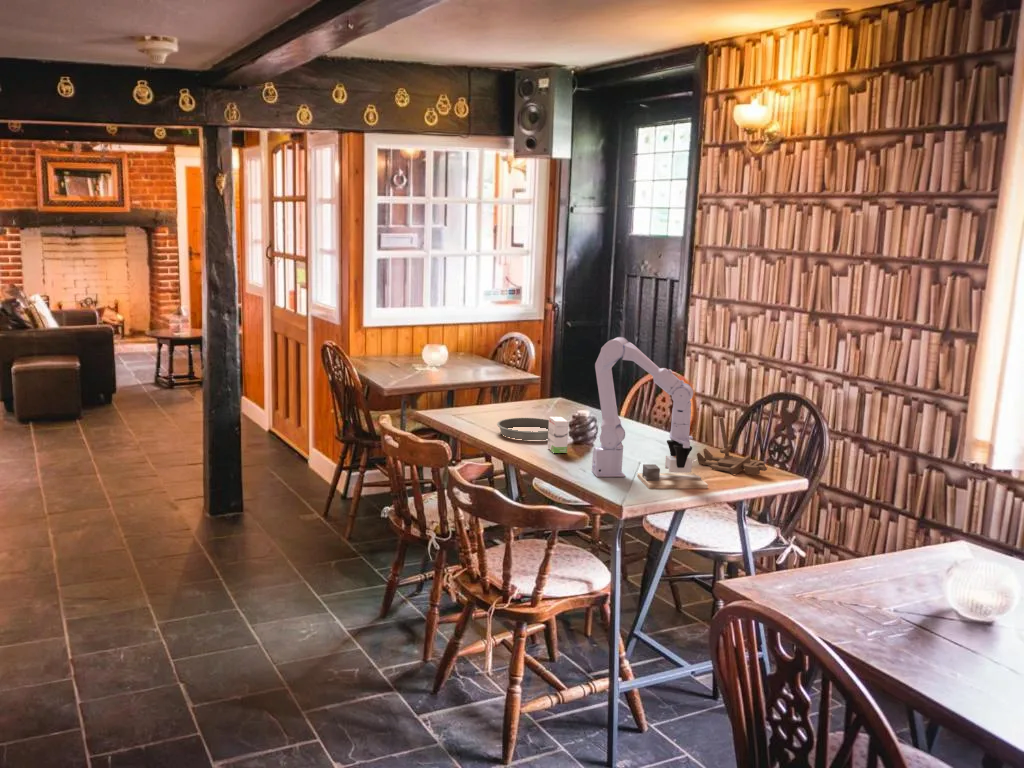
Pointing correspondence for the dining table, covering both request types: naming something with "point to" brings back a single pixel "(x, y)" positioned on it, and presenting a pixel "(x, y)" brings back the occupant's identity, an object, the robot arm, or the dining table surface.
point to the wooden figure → (730, 459)
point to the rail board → (669, 478)
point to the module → (672, 464)
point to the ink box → (557, 434)
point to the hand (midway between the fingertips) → (677, 465)
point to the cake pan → (524, 423)
